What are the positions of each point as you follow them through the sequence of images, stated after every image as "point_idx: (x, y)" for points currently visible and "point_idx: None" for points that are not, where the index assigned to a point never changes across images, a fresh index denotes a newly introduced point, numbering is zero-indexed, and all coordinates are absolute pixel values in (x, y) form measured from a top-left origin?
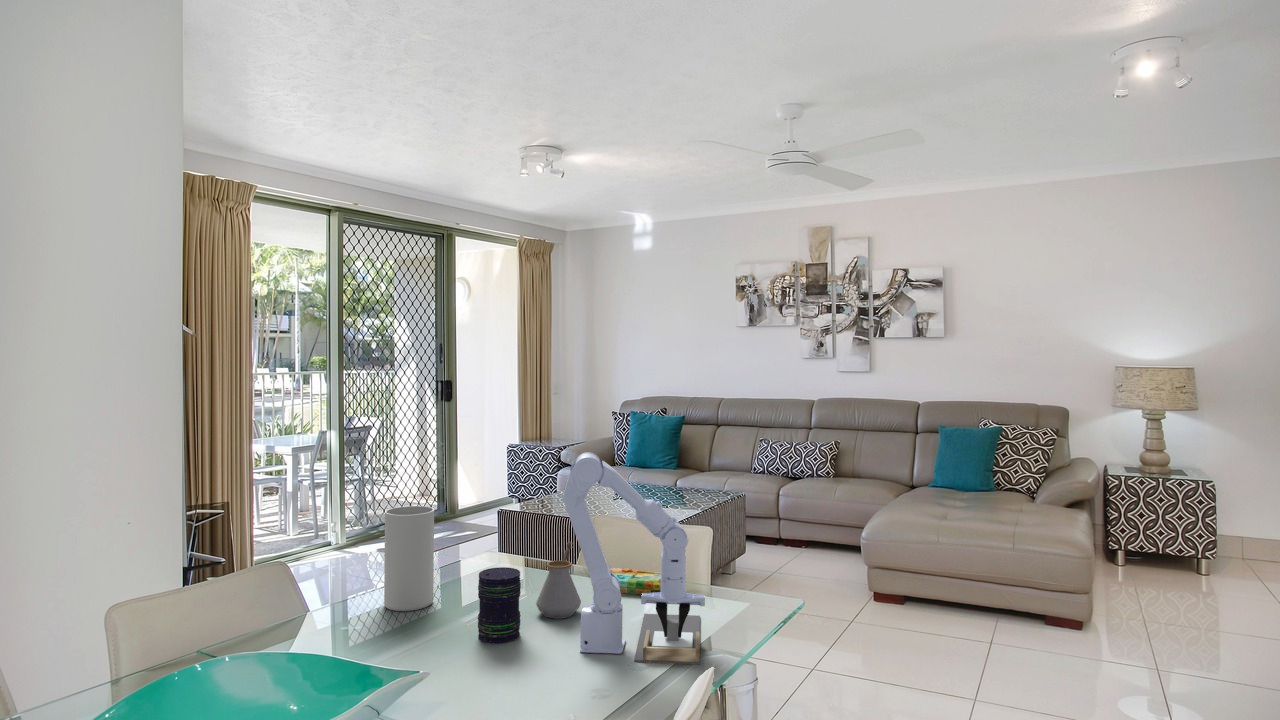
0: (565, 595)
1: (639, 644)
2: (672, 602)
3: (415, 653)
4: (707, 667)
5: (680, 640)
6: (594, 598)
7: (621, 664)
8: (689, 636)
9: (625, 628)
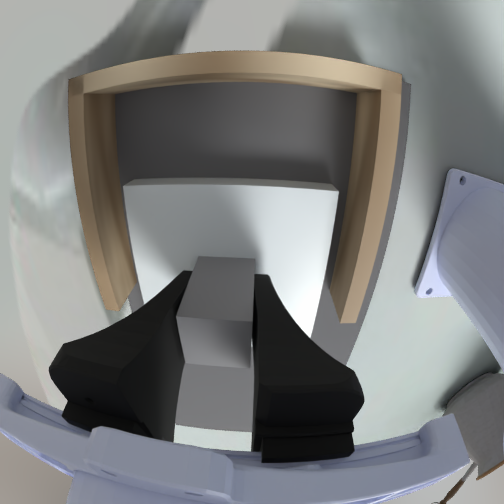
0: (491, 414)
1: (377, 255)
2: (141, 458)
3: None
4: (80, 62)
5: (188, 265)
6: None
7: (446, 72)
8: None
9: (381, 372)
